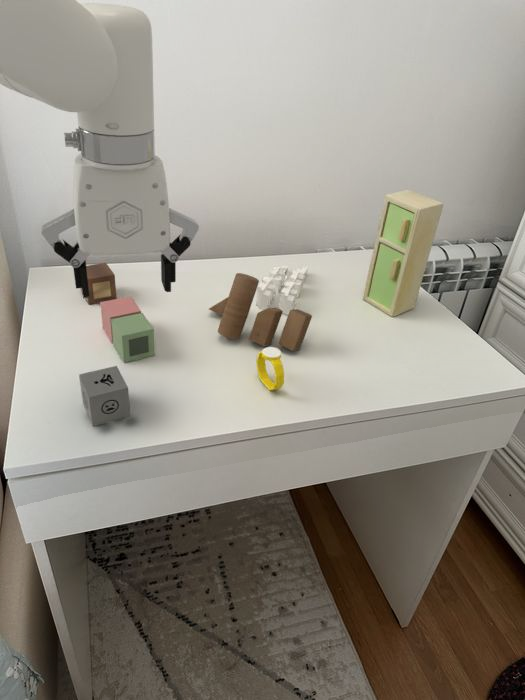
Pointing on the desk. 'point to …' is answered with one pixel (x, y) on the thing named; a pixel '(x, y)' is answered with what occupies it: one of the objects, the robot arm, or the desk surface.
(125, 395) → the dice cube
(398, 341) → the desk surface
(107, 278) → the brown cube
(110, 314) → the plain pink block
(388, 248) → the toy refrigerator
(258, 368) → the watch
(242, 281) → the wooden block set
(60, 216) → the robot arm
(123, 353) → the green cube
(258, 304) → the modular blocks
